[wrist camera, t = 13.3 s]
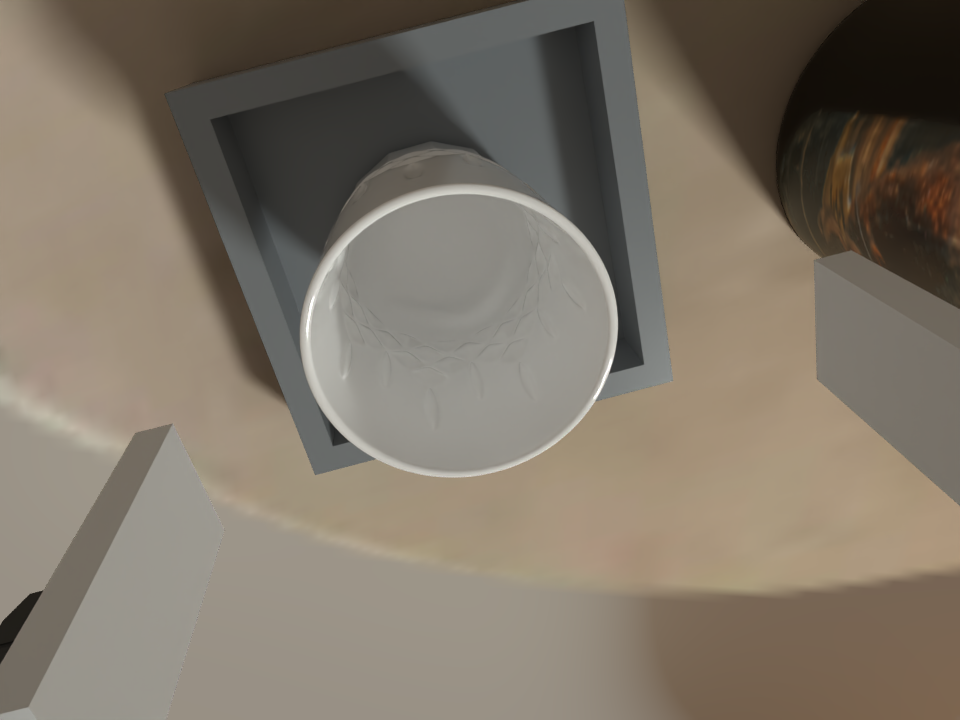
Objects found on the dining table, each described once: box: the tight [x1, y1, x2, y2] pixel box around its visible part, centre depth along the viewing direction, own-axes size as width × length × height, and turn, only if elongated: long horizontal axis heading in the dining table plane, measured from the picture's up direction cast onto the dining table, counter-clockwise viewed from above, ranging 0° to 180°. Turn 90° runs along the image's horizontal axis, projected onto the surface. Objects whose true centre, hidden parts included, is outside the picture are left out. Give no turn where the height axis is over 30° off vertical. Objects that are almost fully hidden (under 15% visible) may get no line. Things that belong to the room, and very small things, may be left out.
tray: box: [165, 0, 673, 475], centre depth 27 cm, size 14×14×4 cm
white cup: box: [300, 141, 618, 477], centre depth 23 cm, size 8×8×10 cm
